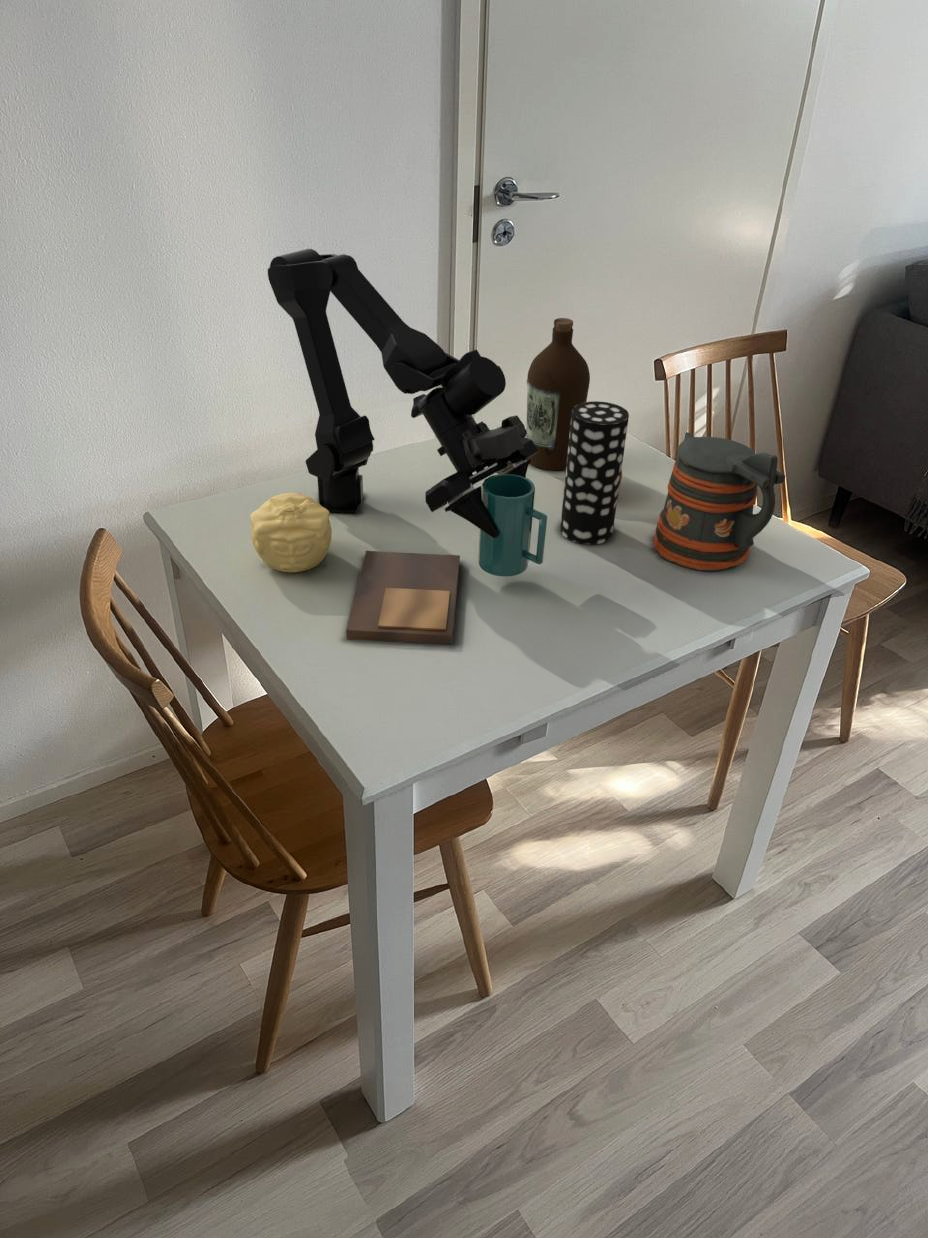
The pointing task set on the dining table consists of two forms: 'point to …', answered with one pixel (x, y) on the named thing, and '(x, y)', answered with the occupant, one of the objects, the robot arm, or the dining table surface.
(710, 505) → the beer stein
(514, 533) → the teal coffee mug
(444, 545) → the dining table surface
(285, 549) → the sculpture
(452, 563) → the board
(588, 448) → the spotted tube
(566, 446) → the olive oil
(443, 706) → the dining table surface
